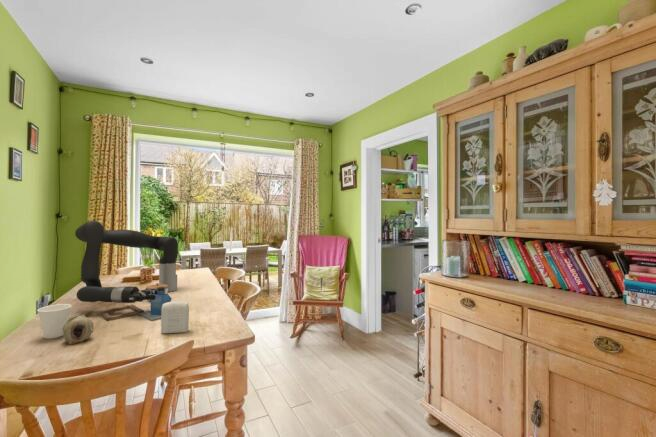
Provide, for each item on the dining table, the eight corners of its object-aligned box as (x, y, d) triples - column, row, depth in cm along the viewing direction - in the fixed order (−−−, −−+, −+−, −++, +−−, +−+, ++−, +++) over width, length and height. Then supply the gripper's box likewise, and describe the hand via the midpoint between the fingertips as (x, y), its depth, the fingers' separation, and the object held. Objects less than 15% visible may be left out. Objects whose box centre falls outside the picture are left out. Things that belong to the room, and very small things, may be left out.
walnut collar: (132, 306, 158) (132, 304, 158) (144, 312, 149) (144, 310, 149) (96, 313, 147) (96, 311, 146) (107, 321, 137) (107, 318, 137)
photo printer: (189, 329, 129) (190, 299, 129) (187, 332, 125) (187, 302, 125) (162, 330, 127) (162, 300, 127) (159, 334, 123) (159, 303, 123)
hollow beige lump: (63, 348, 114) (53, 323, 114) (88, 336, 122) (79, 313, 122) (77, 345, 111) (67, 319, 110) (102, 333, 118) (92, 308, 118)
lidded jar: (156, 303, 164) (156, 286, 164) (141, 301, 168) (141, 284, 167) (172, 298, 174) (172, 282, 174) (157, 296, 178) (158, 280, 178)
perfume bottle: (170, 310, 151) (171, 286, 150) (163, 315, 144) (163, 289, 144) (158, 310, 151) (158, 285, 151) (150, 314, 145) (150, 288, 145)
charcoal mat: (169, 307, 157) (169, 306, 157) (182, 313, 149) (182, 312, 149) (138, 314, 147) (138, 313, 147) (151, 321, 138) (151, 319, 138)
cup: (32, 343, 113) (32, 313, 113) (42, 333, 122) (42, 305, 122) (67, 338, 118) (67, 309, 118) (74, 329, 127) (74, 302, 126)
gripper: (115, 290, 140) (151, 290, 140) (134, 283, 154) (167, 283, 155) (115, 307, 140) (151, 307, 140) (134, 298, 154) (167, 298, 155)
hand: (159, 294), depth 148 cm, fingers open, 8 cm apart
